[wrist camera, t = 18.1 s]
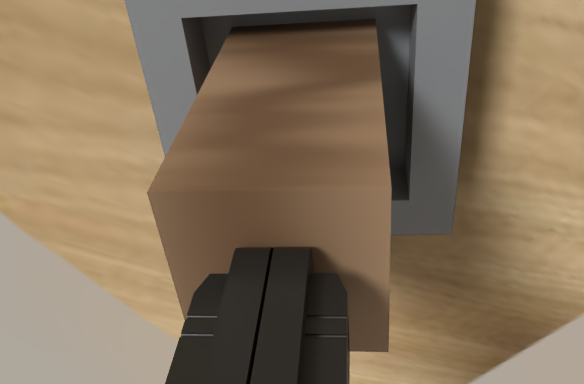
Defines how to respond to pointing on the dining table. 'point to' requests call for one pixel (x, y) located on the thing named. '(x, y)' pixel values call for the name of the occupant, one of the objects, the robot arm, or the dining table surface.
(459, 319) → the dining table surface
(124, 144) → the dining table surface
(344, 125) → the walnut block
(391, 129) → the gray pocket tray
